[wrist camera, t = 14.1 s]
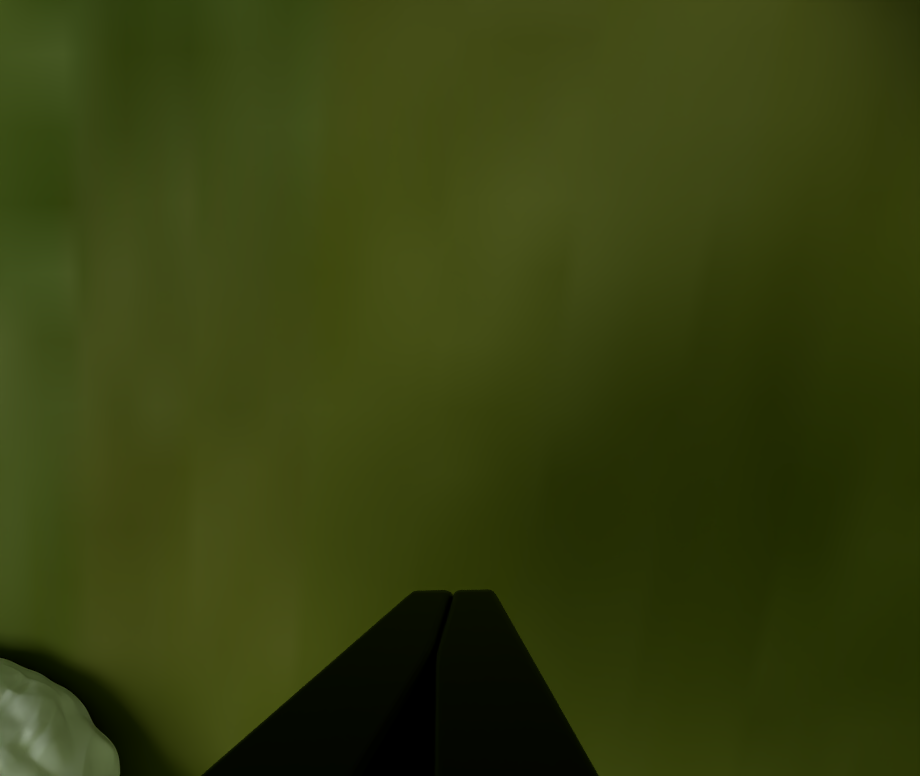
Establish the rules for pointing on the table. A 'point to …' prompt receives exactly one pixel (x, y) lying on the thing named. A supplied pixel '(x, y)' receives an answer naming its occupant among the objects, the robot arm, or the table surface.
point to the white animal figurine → (48, 729)
